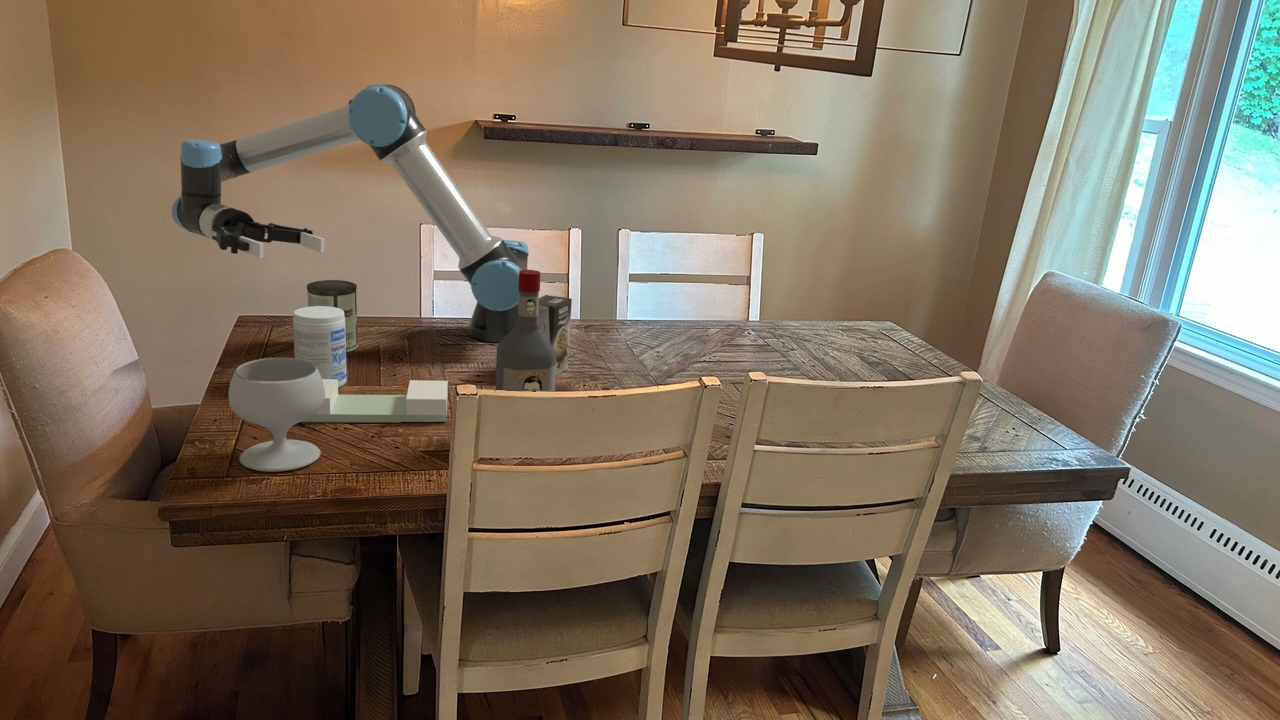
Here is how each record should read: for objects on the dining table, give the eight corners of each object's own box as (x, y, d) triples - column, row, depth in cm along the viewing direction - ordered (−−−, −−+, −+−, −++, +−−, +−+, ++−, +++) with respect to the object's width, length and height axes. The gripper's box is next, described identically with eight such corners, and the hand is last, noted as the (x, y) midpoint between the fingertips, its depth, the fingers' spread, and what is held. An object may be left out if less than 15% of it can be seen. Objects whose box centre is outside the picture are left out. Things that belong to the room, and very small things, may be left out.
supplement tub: (344, 392, 173) (342, 318, 168) (292, 392, 170) (289, 318, 166) (348, 375, 182) (347, 305, 177) (299, 375, 179) (296, 304, 175)
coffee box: (551, 381, 188) (554, 306, 183) (523, 375, 190) (526, 301, 185) (569, 369, 196) (573, 297, 191) (542, 364, 198) (546, 293, 193)
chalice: (227, 479, 135) (220, 385, 130) (238, 442, 147) (232, 355, 143) (325, 473, 139) (322, 383, 134) (328, 438, 152) (325, 354, 147)
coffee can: (321, 338, 203) (319, 277, 199) (365, 342, 203) (364, 282, 198) (300, 351, 194) (297, 288, 189) (346, 356, 193) (345, 292, 189)
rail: (447, 402, 171) (447, 380, 170) (446, 422, 162) (446, 399, 161) (298, 401, 166) (298, 378, 165) (288, 422, 157) (287, 397, 156)
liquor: (491, 430, 160) (496, 266, 151) (541, 426, 164) (548, 265, 155) (503, 450, 152) (509, 278, 143) (555, 446, 156) (564, 278, 147)
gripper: (281, 239, 196) (345, 261, 185) (169, 248, 175) (233, 272, 165) (282, 205, 193) (346, 225, 183) (168, 210, 173) (233, 232, 162)
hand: (293, 248), depth 174 cm, fingers open, 13 cm apart
